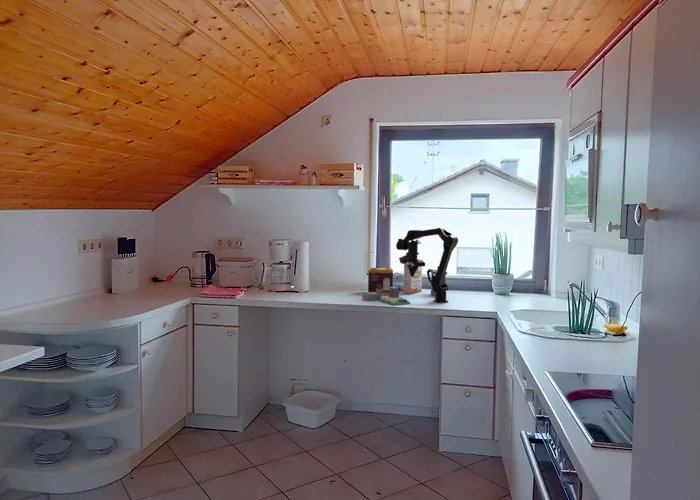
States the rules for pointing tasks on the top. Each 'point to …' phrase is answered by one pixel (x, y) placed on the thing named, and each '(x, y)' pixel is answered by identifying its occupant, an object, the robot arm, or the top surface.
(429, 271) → the coffeepot
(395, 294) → the plug
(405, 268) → the cracker box
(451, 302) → the top surface
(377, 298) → the speaker
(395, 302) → the board
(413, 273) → the robot arm
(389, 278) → the supplement box
